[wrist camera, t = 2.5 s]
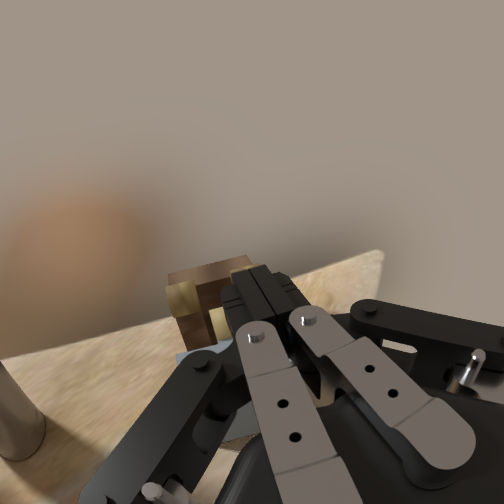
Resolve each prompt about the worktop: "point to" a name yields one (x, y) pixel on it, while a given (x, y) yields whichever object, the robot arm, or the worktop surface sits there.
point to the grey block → (245, 415)
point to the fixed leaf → (200, 298)
